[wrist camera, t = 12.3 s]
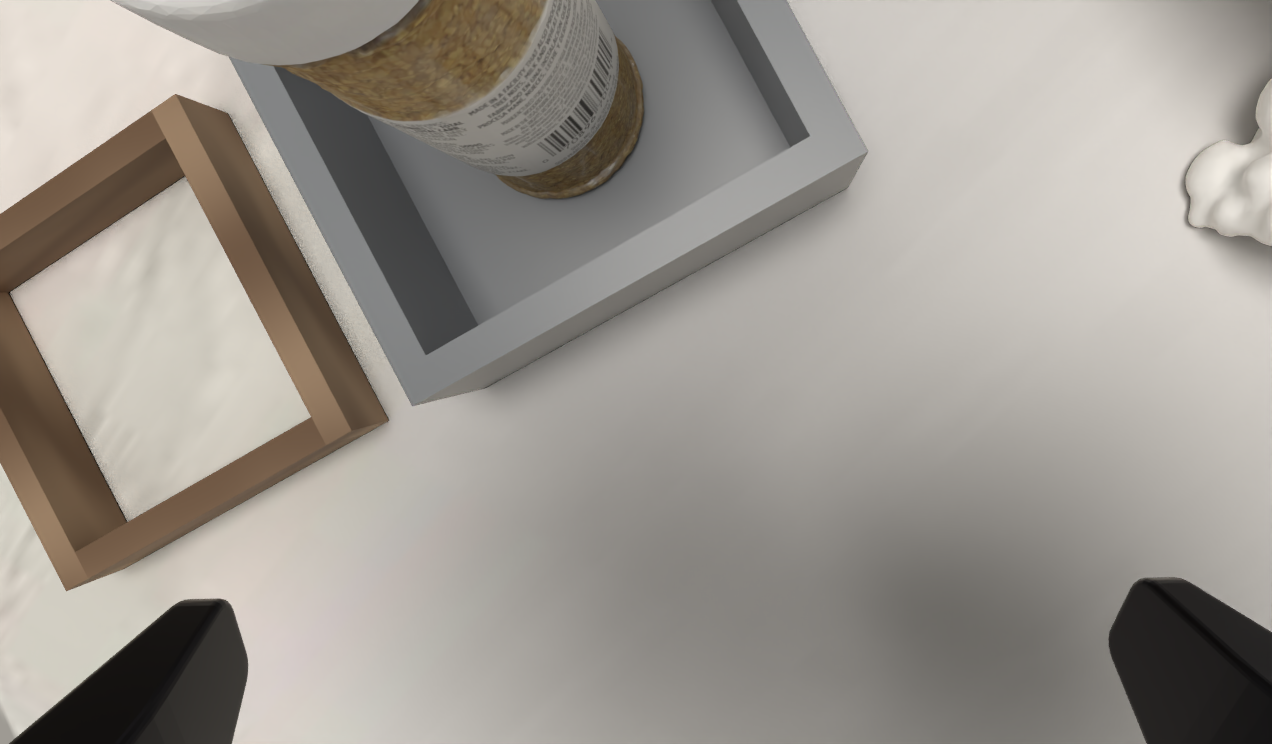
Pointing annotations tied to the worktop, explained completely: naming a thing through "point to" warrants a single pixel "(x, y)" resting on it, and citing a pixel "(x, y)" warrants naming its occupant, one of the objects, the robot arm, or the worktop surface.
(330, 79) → the sprinkles bottle
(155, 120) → the walnut holder
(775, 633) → the worktop surface
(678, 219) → the grey bin
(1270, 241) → the white coral
